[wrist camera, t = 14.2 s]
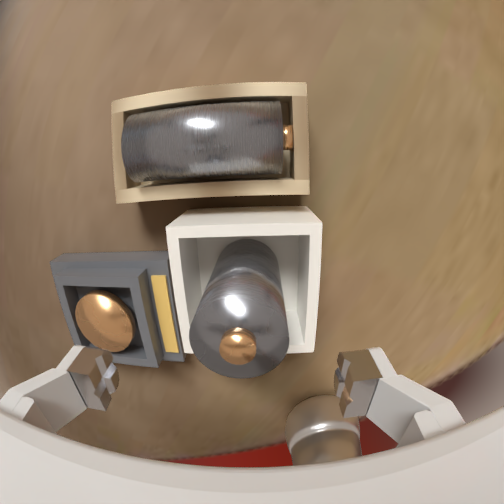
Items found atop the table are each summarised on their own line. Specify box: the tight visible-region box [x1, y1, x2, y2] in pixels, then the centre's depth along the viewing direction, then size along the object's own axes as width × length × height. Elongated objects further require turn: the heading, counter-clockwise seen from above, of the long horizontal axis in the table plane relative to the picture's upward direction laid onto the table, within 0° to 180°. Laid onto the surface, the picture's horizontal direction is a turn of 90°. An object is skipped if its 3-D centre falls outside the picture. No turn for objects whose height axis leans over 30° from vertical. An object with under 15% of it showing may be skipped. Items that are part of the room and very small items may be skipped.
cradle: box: [50, 251, 187, 368], centre depth 19 cm, size 10×8×4 cm
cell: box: [189, 239, 289, 378], centre depth 15 cm, size 4×4×9 cm
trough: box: [111, 82, 309, 204], centre depth 16 cm, size 11×6×3 cm, turn 92°
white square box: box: [166, 206, 322, 354], centre depth 17 cm, size 8×8×5 cm
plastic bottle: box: [285, 395, 362, 466], centre depth 15 cm, size 6×7×20 cm
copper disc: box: [75, 290, 136, 352], centre depth 18 cm, size 5×5×1 cm
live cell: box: [121, 101, 293, 182], centre depth 15 cm, size 9×4×4 cm, turn 92°
